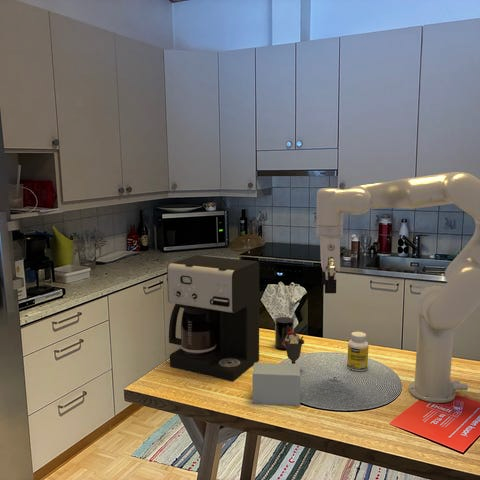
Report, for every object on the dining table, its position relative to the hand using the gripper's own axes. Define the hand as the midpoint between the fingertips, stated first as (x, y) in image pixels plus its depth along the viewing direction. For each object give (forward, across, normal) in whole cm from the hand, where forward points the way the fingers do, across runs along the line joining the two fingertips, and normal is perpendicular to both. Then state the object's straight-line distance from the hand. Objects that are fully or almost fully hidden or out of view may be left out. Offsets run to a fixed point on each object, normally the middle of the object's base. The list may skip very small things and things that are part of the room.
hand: (328, 288), depth 142 cm
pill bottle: (+30, +13, -11) cm, 35 cm away
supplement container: (+30, +29, +13) cm, 44 cm away
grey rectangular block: (+30, -10, +15) cm, 35 cm away
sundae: (+30, +9, +10) cm, 33 cm away
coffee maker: (+30, +14, +38) cm, 50 cm away
